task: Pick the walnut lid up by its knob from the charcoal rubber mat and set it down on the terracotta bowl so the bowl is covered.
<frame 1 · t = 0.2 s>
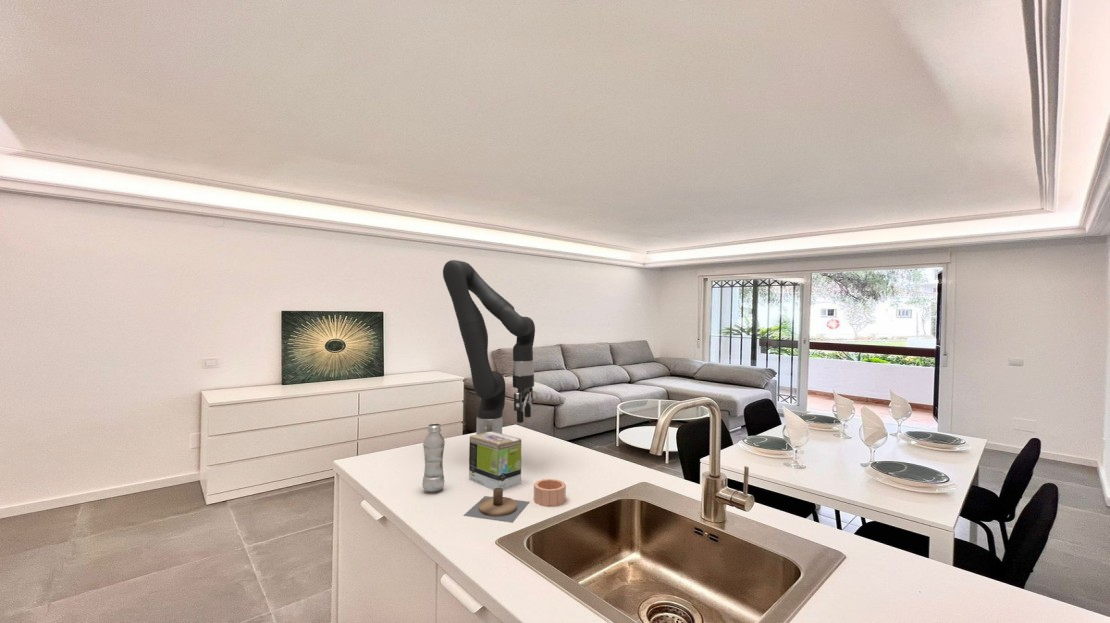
hand: (524, 419, 163), 17 cm above the worktop, tool pointing down, fingers open, 8 cm apart
tea box: (494, 483, 150), on the worktop
lid: (497, 508, 129), resting on mat
bowl: (549, 501, 135), on the worktop
mat: (497, 509, 129), on the worktop
plastic bottle: (433, 491, 142), on the worktop
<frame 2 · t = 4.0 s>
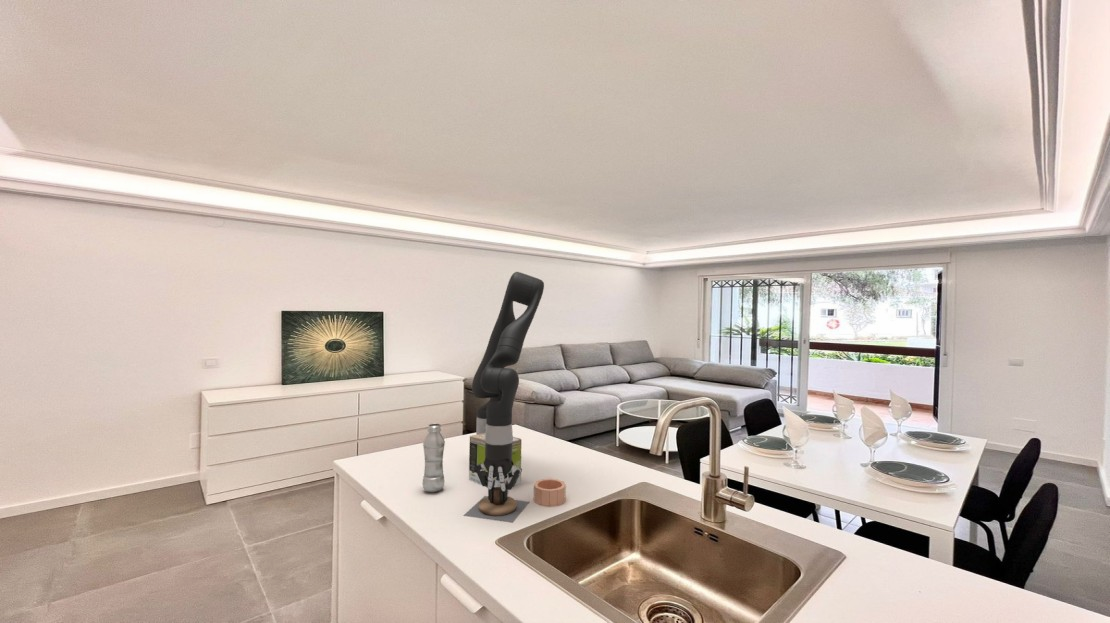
hand: (497, 502, 129), 2 cm above the worktop, tool pointing down, fingers closed on lid, 2 cm apart
lid: (497, 507, 129), point 1 cm above the worktop, touching gripper
everything else where it was.
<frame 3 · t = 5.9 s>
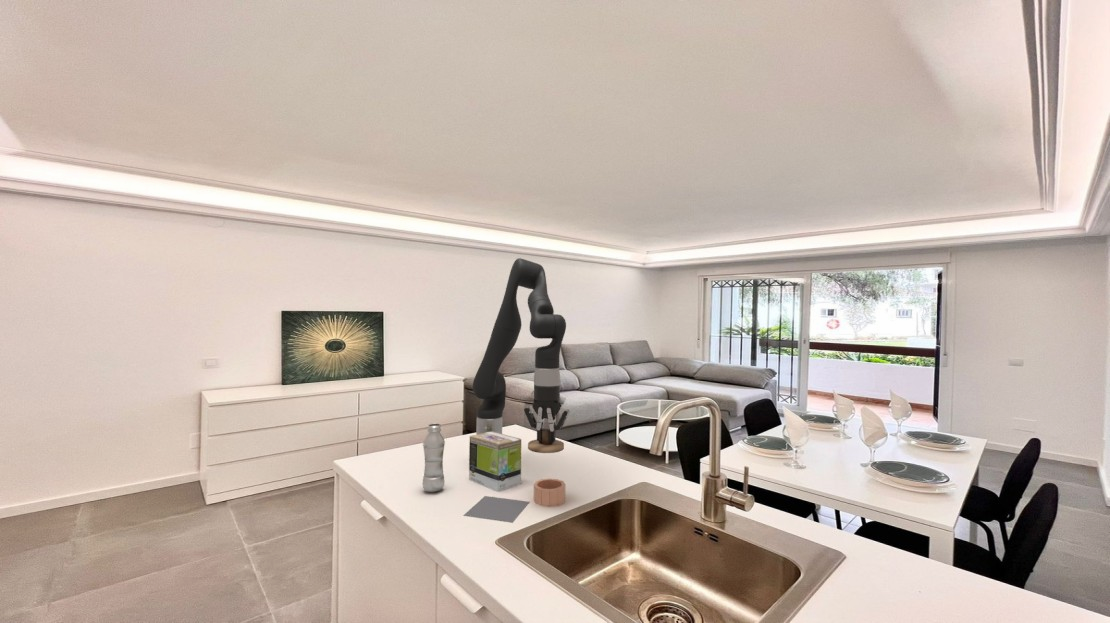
hand: (546, 442, 135), 17 cm above the worktop, tool pointing down, fingers closed on lid, 2 cm apart
lid: (545, 447, 135), point 16 cm above the worktop, touching gripper
everything else where it was.
when the fingers open (8 cm above the worktop, at t = 7.9 s): lid drops 2 cm, point 5 cm above the worktop.
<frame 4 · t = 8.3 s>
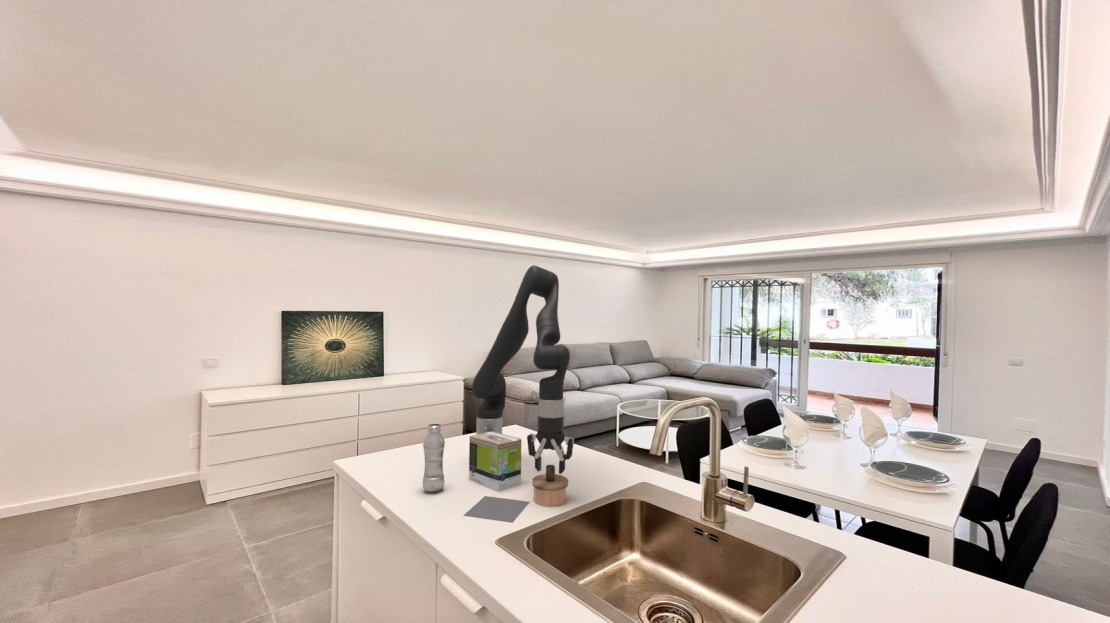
hand: (550, 471, 135), 9 cm above the worktop, tool pointing down, fingers open, 6 cm apart
lid: (550, 484, 136), point 5 cm above the worktop
everything else where it was.
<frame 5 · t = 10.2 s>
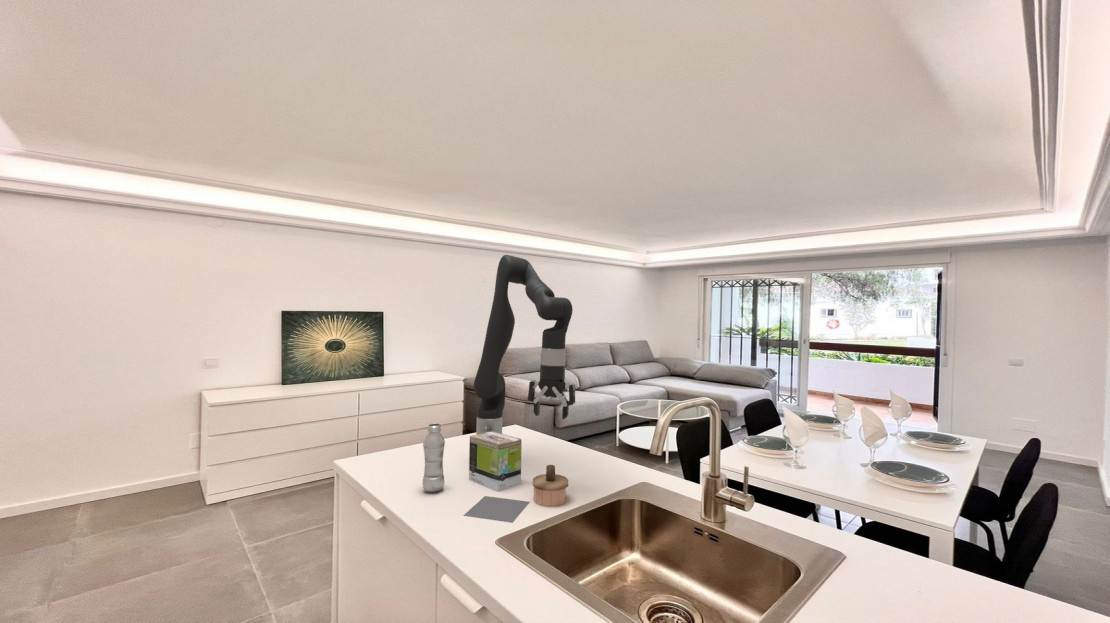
hand: (550, 417, 141), 23 cm above the worktop, tool pointing down, fingers open, 8 cm apart
nothing on the worktop moved.
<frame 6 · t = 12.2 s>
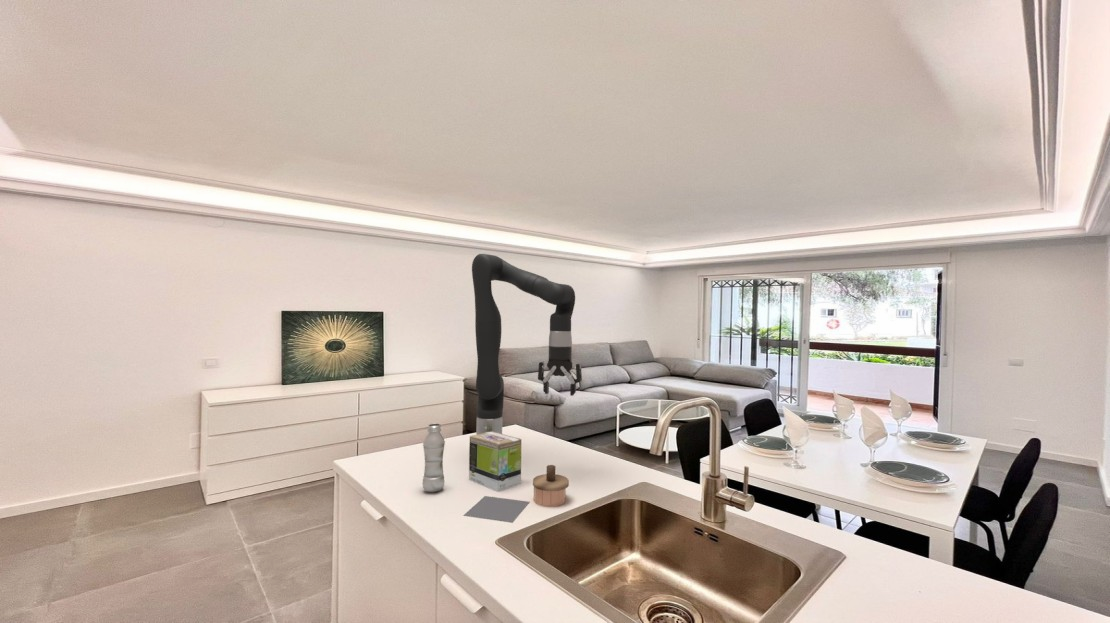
hand: (559, 394, 153), 28 cm above the worktop, tool pointing down, fingers open, 8 cm apart
lid: (550, 484, 136), point 5 cm above the worktop, touching bowl
bowl: (549, 501, 135), on the worktop, touching lid
everything else where it was.
at the end: lid 0.3 cm from the bowl (horizontally); lid 0.3 cm off-centre on the bowl, point 5.0 cm above the bowl's base; lid tilted 0° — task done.
